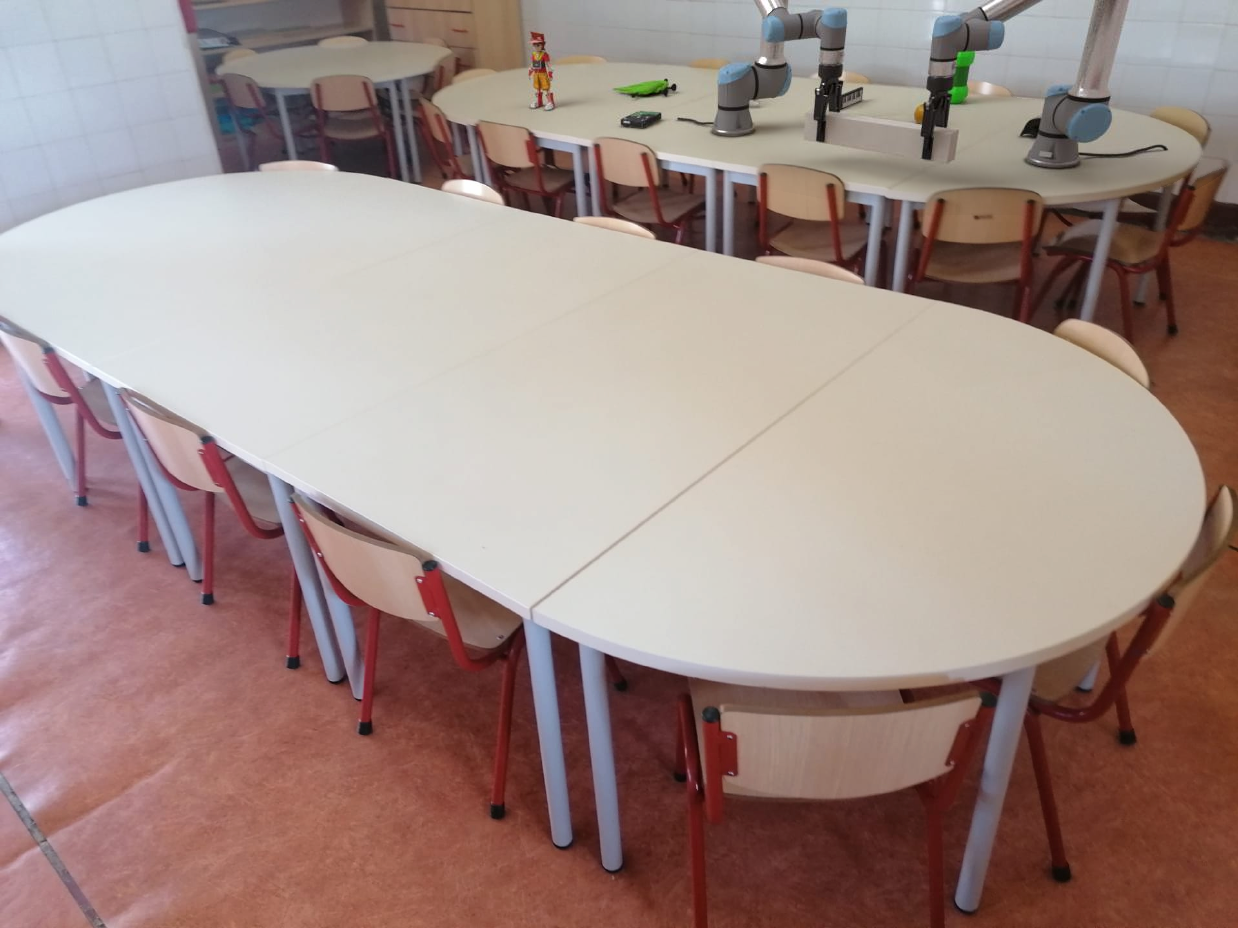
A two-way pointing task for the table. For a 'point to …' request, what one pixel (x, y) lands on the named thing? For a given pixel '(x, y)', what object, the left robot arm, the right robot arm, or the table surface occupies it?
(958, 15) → the right robot arm
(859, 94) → the midi keyboard
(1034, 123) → the black curved piece
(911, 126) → the bar
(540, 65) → the toy
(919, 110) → the fruit
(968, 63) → the plastic bottle
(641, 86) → the toy
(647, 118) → the disk drive
